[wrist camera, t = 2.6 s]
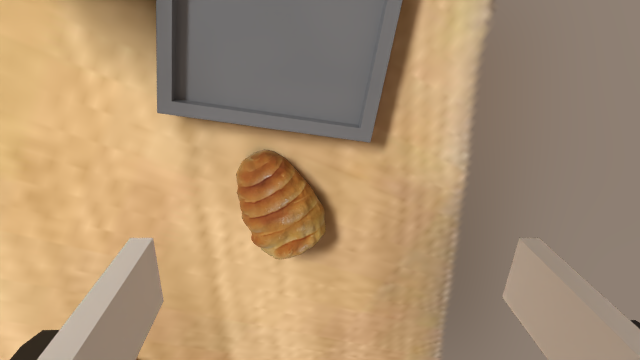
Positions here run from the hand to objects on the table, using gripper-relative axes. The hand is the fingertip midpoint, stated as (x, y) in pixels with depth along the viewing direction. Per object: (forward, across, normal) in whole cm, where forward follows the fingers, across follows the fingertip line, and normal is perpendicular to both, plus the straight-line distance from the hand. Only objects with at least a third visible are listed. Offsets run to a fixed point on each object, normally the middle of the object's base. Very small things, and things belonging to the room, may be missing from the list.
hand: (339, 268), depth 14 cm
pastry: (+19, -3, -7) cm, 21 cm away
